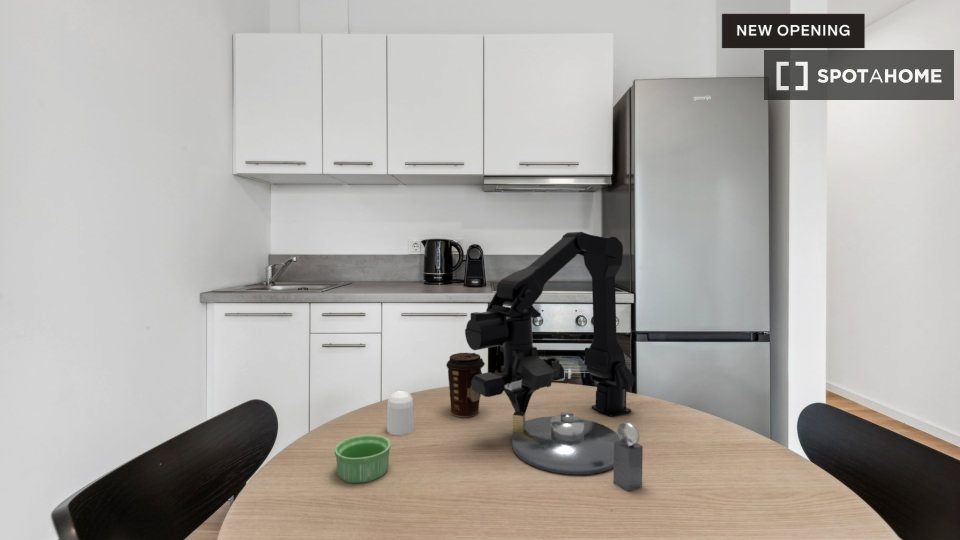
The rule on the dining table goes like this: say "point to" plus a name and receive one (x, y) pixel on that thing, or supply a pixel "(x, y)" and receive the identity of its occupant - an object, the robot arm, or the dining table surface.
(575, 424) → the cover
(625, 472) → the indicator stand
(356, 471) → the ramekin
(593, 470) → the turntable
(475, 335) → the robot arm
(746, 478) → the dining table surface
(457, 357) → the coffee cup
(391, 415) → the salt shaker
